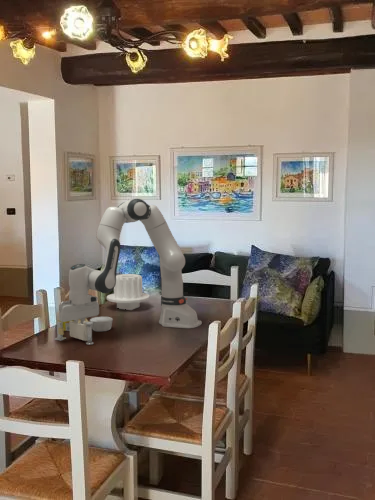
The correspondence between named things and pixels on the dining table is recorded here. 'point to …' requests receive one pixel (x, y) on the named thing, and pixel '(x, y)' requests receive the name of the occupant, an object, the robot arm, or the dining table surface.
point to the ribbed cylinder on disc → (128, 292)
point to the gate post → (89, 335)
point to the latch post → (60, 331)
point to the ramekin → (101, 323)
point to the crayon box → (66, 325)
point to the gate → (79, 330)
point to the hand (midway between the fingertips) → (79, 327)
